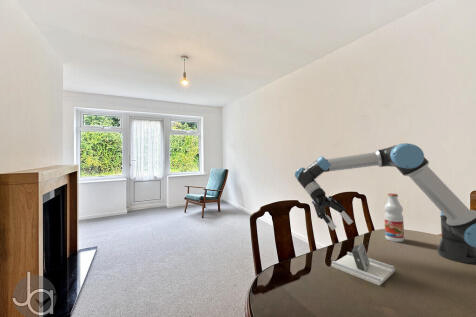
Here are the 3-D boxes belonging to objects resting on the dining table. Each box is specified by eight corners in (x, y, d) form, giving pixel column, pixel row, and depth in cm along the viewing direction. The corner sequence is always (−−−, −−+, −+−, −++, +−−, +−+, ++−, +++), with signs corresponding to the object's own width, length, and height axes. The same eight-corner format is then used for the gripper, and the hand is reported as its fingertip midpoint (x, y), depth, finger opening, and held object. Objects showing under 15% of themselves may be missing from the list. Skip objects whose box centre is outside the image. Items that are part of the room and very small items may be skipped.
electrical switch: (367, 272, 92) (363, 250, 92) (353, 269, 95) (350, 248, 96) (370, 264, 99) (367, 243, 100) (357, 262, 102) (354, 242, 103)
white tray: (394, 271, 94) (394, 265, 94) (379, 285, 84) (379, 279, 84) (348, 256, 110) (348, 251, 110) (331, 266, 100) (331, 261, 100)
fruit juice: (407, 240, 128) (406, 194, 129) (397, 243, 125) (395, 195, 125) (391, 235, 137) (389, 192, 138) (381, 238, 134) (380, 193, 134)
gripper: (325, 193, 124) (352, 225, 111) (295, 198, 111) (322, 235, 98) (333, 185, 120) (362, 217, 107) (303, 189, 107) (332, 226, 94)
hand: (343, 225), depth 102 cm, fingers open, 13 cm apart
